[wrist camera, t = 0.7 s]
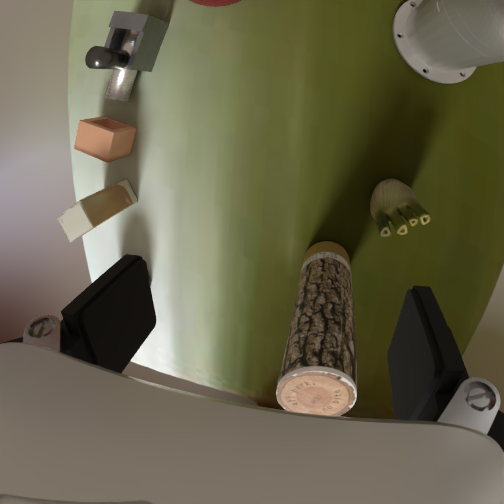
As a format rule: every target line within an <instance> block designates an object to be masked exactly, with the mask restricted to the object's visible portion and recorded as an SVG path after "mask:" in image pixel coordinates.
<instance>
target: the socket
mask: <svg viewBox="0 0 504 504" xmlns="http://www.w3.org/2000/svg"><path fill="white" fill-rule="evenodd" d="M136 130H137V128H135V127H133V126H130V125H127V124H124V123H121V122H118V121H116V120H113V119H110V118H107V117H97V118H91V119H85V120H80V121H79V126H78V131H77V136H76V141H75V147H74V149H76V150H79V151H81V152H83V153H86V154H88V155H90V156H93V157H95V158H98V159H100V160H102V161H105V162H107V163H108V162H111V161H114V160H116V159H119V158H122V157H125V156H128V155H130V153H131V149H132V145H133V141H134V138H135V134H136Z"/></svg>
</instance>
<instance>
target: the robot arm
mask: <svg viewBox="0 0 504 504" xmlns="http://www.w3.org/2000/svg"><path fill="white" fill-rule="evenodd" d="M411 5H413V7H412V6H411ZM392 30H393V38H394V42H395V44H396V47H397V49H398V51H399V53H400V55H401V56H402V58H403V59H404V60H405V62H406V63H407V64H408V65H409V66H410V67H411V68H412V69H413V70H414V71H415V72H417V73H418V74H420V75H421V76H423V77H424V78H427V79H429V80H431V81H434V82H437V83H444V84H451V83H457V82H461V81H463V80H465V79H467V78H468V77H469V76H470V75H472V74H473V72H474V71H475V69H476V67H477V66H481V65H486V64H491V63H497V62H502V61H504V0H408V1H407V2H405V3H404V4H403V5H402V6H401V7H400V8H399V9H398V11H397V12H396V14H395V17H394V19H393V25H392ZM397 35H400V36H401V38H399V37H398V36H397ZM423 69H424V70H425V71H426V72H425V73H424V72H423ZM460 73H461V74H462V76H461V75H460ZM61 313H62V316H63V320H62V321H61V322H60V320H59V319H58V317H56V316H54V315H43V316H40V317H37V318H36V319H34V320H32V321H31V322H30V323H29V324H28V325H27V326H26V328H25V331H24V337H22V338H18V339H14V340H10V341H7V342H3V343H0V504H504V413H502V412H501V411H499V410H498V409H499V407H500V395H499V393H498V391H497V389H496V388H495V387H494V386H493V385H492V384H491V383H490V382H488V381H486V380H484V379H482V378H469V376H468V373H467V371H466V368H465V366H464V362H463V360H462V357H461V355H460V352H459V349H458V347H457V344H456V342H455V339H454V337H453V335H452V332H451V330H450V328H449V327H448V326H447V323H446V321H445V319H444V316H443V314H442V312H441V310H440V307H439V305H438V303H437V301H436V299H435V296H434V294H433V292H432V290H431V288H430V287H425V286H413V288H412V290H411V289H408V291H407V293H406V296H405V300H404V303H403V306H402V310H401V313H400V316H399V320H398V323H397V326H396V329H395V332H394V335H393V338H392V341H391V344H390V347H389V350H388V365H389V372H390V379H391V387H392V395H393V404H394V414H395V420H391V419H368V418H353V417H340V416H328V415H318V414H308V413H300V412H292V411H284V410H277V409H271V408H265V407H258V406H252V405H247V404H241V403H236V402H230V401H225V400H220V399H216V398H211V397H207V396H202V395H198V394H193V393H189V392H185V391H181V390H177V389H173V388H169V387H165V386H162V385H158V384H155V383H151V382H147V381H144V380H140V379H137V378H134V377H131V376H127V375H124V374H121V373H122V371H123V370H124V369H125V367H126V366H127V364H128V363H129V362H130V360H131V359H132V357H133V356H134V355H135V353H136V352H137V351H138V349H139V348H140V346H141V345H142V344H143V342H144V341H145V339H146V338H147V337H148V335H149V334H150V333H151V331H152V330H153V329H154V327H155V325H156V315H155V309H154V304H153V299H152V294H151V288H150V282H149V276H148V270H147V264H146V262H145V261H144V260H143V259H142V257H141V256H136V255H128V254H127V255H125V256H124V257H122V258H121V259H120V260H119V261H118V262H116V263H115V264H114V265H113V266H112V267H111V268H109V269H108V270H107V271H106V272H105V273H103V274H102V275H101V276H100V277H99V278H98V279H97V280H95V281H94V282H93V283H92V284H91V285H90V286H89V287H87V288H86V289H85V290H84V291H83V292H82V293H81V294H80V295H78V296H77V297H76V298H75V299H74V300H73V301H72V302H71V303H70V304H68V305H67V306H66V307H65V308H64V309H63V310H62V311H61Z"/></svg>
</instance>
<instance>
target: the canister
mask: <svg viewBox="0 0 504 504" xmlns="http://www.w3.org/2000/svg"><path fill="white" fill-rule="evenodd" d="M189 1H191V2H194V3H196V4H200V5H205V6H215V7H216V6H226V5H230V4H233V3H236V2H239V1H241V0H189Z"/></svg>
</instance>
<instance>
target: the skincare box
mask: <svg viewBox="0 0 504 504" xmlns="http://www.w3.org/2000/svg"><path fill="white" fill-rule="evenodd" d="M137 201H138V200H137V198H136V196H135V194H134V192H133V190H132V188H131V186H130V184H129V182H128V180H127V179H125V180H123V181H120V182H118V183H116V184H114V185H111V186H109V187H107V188H105V189H103V190H100V191H98V192H96V193H94V194H92V195H90V196H88V197H86V198H84V199H82V200H80V201H78V202H77V203H75V204H74V205H73V206H71V207H70V208H69V209H67V210H66V211H65V212H64V213H62V214H61V215H60V216H58V217H57V218H58V221H59V222H60V225H61V226H62V228H63V230H64V232H65V234H66V236H67V238H68V239H69V241H70V242H72V241H74V240H76V239H78V238H79V237H81V236H82V235H84V234H86V233H87V232H89V231H90V230H92V229H93V228H95V227H96V226H98V225H100V224H101V223H103V222H104V221H106V220H108V219H109V218H111V217H113V216H114V215H116V214H118V213H119V212H121V211H123V210H124V209H126V208H128V207H129V206H131V205H133V204H134V203H136V202H137Z"/></svg>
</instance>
